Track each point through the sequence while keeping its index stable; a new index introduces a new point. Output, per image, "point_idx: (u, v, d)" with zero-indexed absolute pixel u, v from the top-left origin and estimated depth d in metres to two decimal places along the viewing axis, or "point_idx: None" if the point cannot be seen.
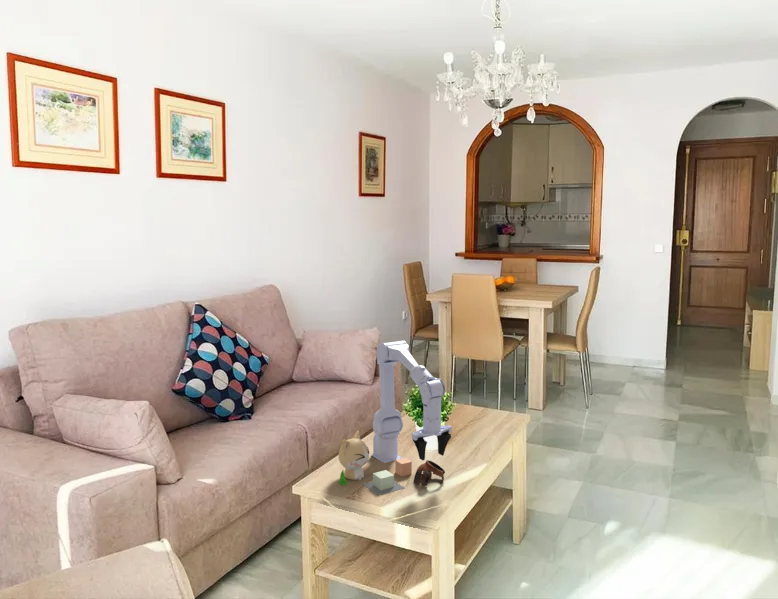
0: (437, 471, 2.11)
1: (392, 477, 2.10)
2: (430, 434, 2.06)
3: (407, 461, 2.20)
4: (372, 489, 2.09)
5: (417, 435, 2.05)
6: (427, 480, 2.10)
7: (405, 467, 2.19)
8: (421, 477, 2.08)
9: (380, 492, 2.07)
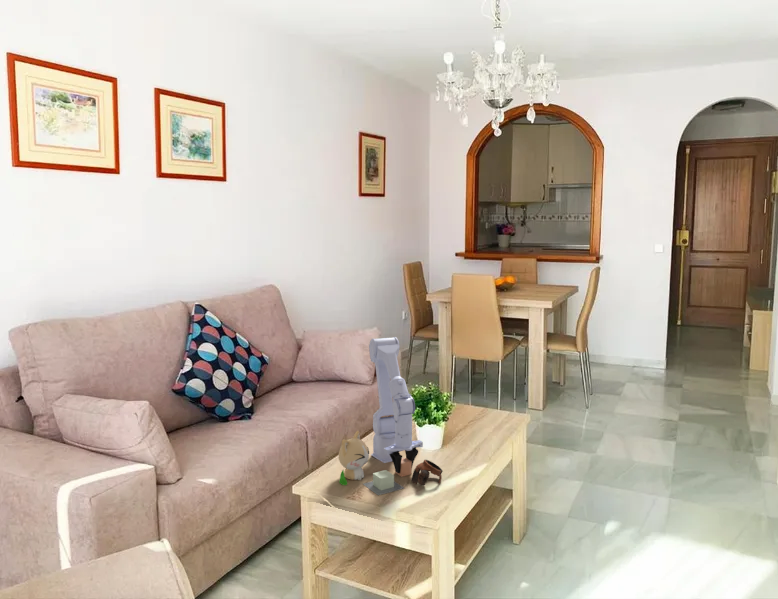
0: (435, 470, 2.12)
1: (392, 477, 2.10)
2: (401, 449, 2.16)
3: (407, 461, 2.20)
4: (372, 489, 2.09)
5: (389, 450, 2.15)
6: (425, 479, 2.11)
7: (405, 467, 2.19)
8: (419, 476, 2.09)
9: (380, 492, 2.07)
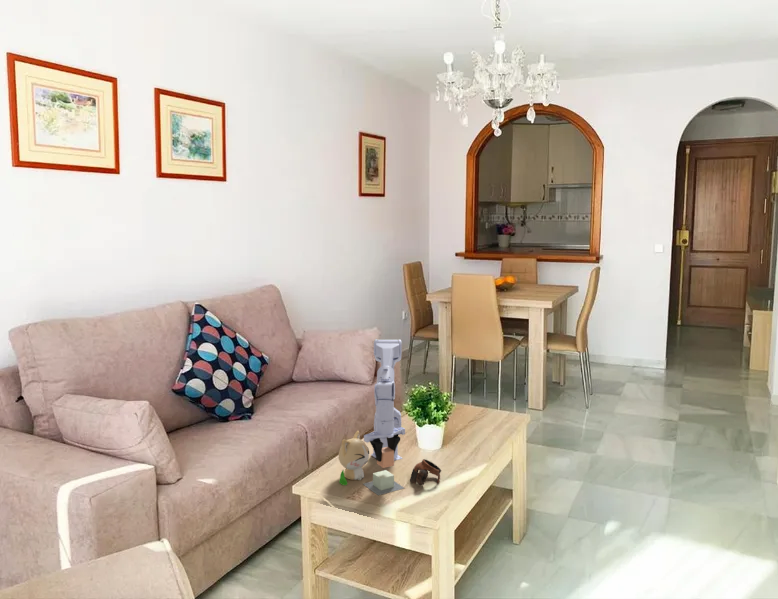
0: (434, 470, 2.12)
1: (392, 477, 2.10)
2: (382, 436, 2.06)
3: (389, 450, 2.09)
4: (372, 489, 2.09)
5: (369, 437, 2.05)
6: (423, 479, 2.11)
7: (387, 456, 2.08)
8: (418, 476, 2.09)
9: (380, 492, 2.07)
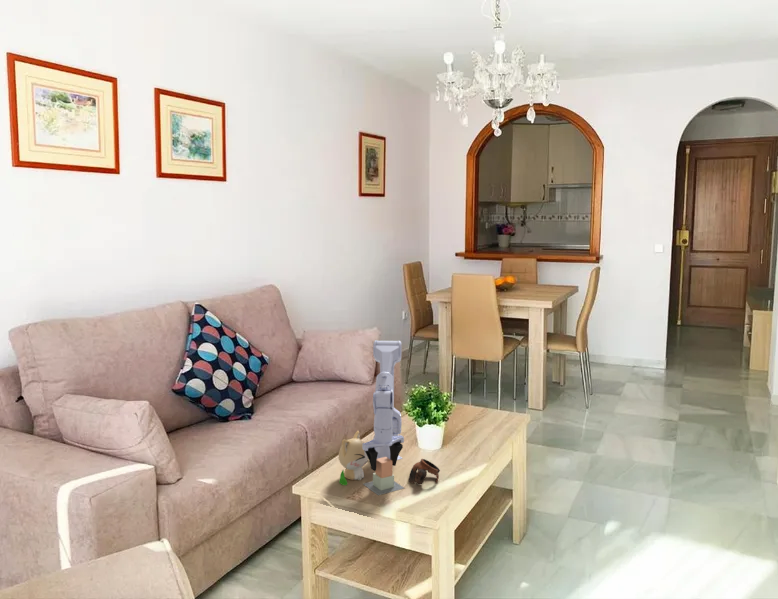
0: (432, 470, 2.13)
1: (392, 477, 2.10)
2: (381, 445, 2.06)
3: (388, 460, 2.09)
4: (372, 489, 2.09)
5: (368, 446, 2.05)
6: (422, 478, 2.11)
7: (385, 466, 2.08)
8: (416, 476, 2.09)
9: (380, 492, 2.07)
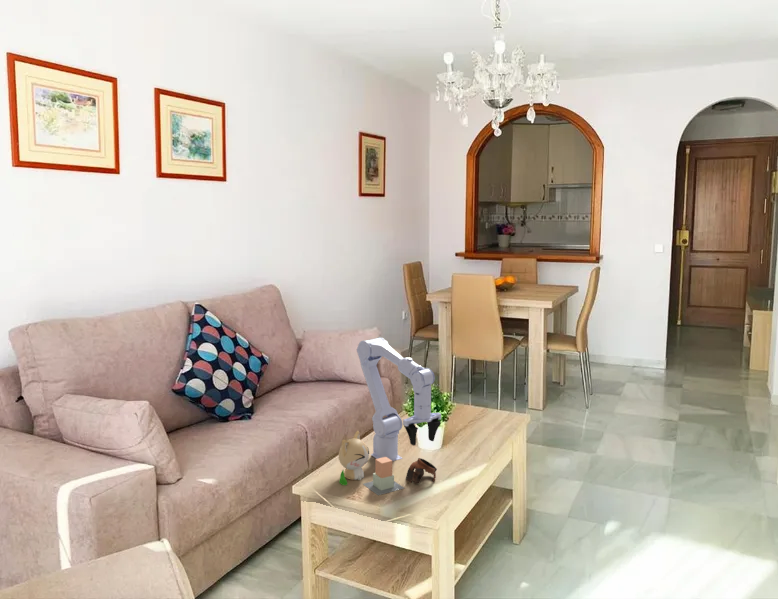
0: (429, 469, 2.13)
1: (392, 477, 2.10)
2: (420, 420, 2.18)
3: (388, 460, 2.09)
4: (372, 489, 2.09)
5: (408, 421, 2.17)
6: (419, 478, 2.12)
7: (385, 466, 2.08)
8: (414, 475, 2.10)
9: (380, 492, 2.07)
